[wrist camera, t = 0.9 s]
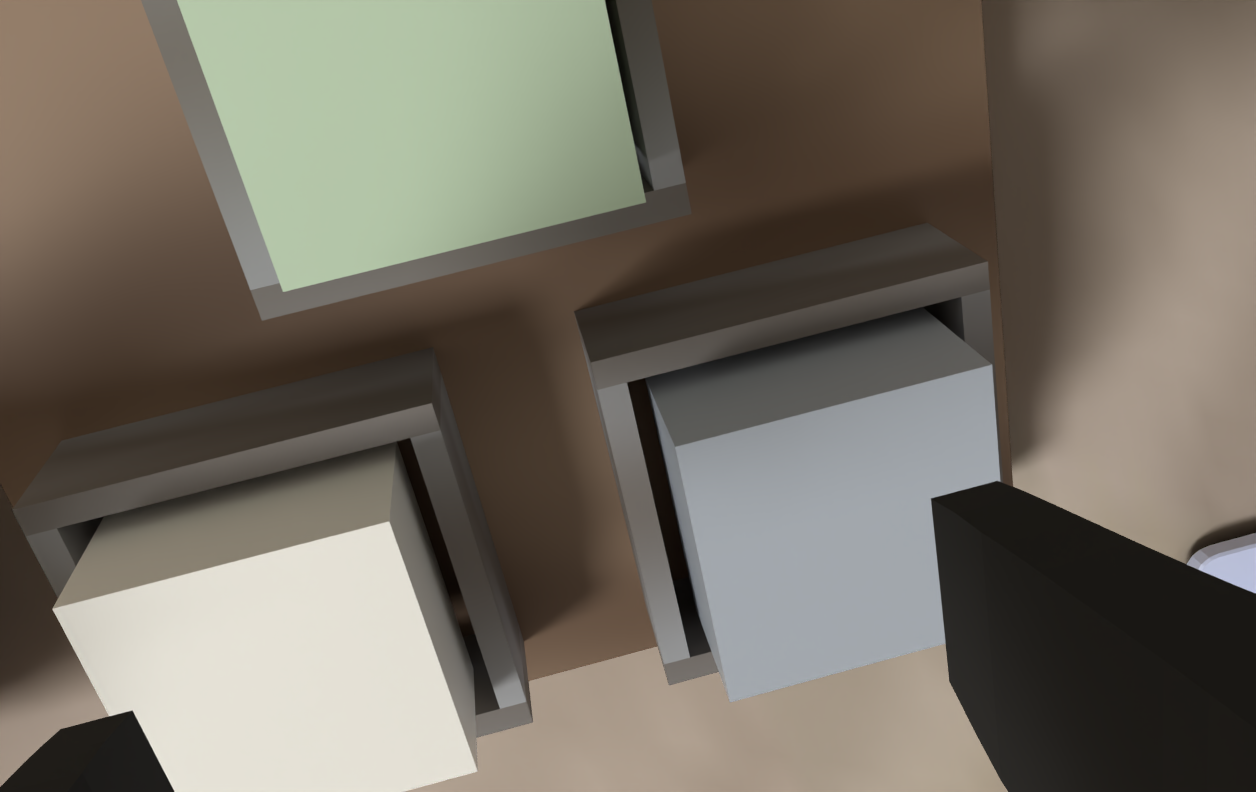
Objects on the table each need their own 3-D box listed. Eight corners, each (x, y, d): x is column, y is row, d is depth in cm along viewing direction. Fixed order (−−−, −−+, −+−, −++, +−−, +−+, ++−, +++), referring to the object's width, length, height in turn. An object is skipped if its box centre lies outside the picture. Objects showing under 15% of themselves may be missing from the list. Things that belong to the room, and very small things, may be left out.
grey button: (944, 542, 17) (1010, 625, 15) (695, 608, 17) (730, 702, 15) (921, 306, 15) (991, 364, 13) (644, 376, 15) (675, 446, 13)
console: (967, 493, 21) (1077, 616, 17) (182, 702, 20) (124, 877, 16) (892, -383, 15) (1036, -476, 11) (-228, -135, 14) (-461, -152, 10)
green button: (616, 160, 14) (646, 203, 12) (306, 237, 14) (283, 292, 12) (542, -190, 12) (562, -210, 10) (186, -110, 12) (136, -114, 10)
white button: (473, 668, 17) (477, 771, 15) (213, 738, 16) (181, 852, 14) (396, 440, 15) (389, 521, 13) (105, 515, 15) (52, 608, 13)
